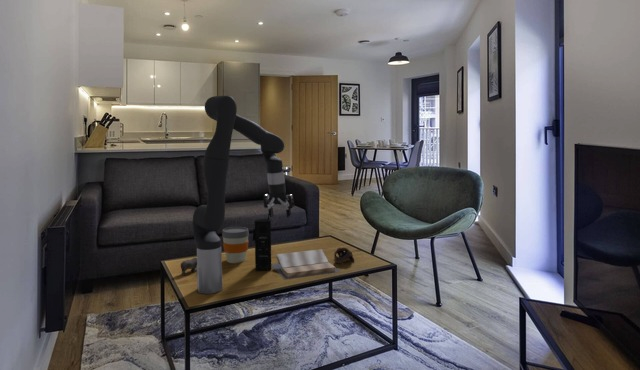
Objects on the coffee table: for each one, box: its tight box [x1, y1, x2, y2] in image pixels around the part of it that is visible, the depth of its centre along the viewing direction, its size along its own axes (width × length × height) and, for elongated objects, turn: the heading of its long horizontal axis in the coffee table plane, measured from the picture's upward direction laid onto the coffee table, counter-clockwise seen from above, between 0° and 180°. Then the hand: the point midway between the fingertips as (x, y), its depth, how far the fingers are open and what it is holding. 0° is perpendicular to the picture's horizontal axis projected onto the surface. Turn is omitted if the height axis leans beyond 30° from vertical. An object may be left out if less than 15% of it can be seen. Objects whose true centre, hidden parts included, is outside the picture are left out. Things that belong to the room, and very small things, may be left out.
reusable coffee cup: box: [221, 226, 250, 264], centre depth 205 cm, size 13×13×15 cm
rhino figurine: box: [180, 256, 197, 277], centre depth 190 cm, size 4×14×6 cm, turn 149°
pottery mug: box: [333, 246, 355, 265], centre depth 203 cm, size 12×10×8 cm
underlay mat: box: [271, 262, 342, 281], centre depth 194 cm, size 26×22×1 cm
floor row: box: [283, 262, 336, 277], centre depth 189 cm, size 22×7×2 cm, turn 112°
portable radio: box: [252, 213, 272, 272], centre depth 191 cm, size 8×6×25 cm
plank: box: [276, 248, 329, 271], centre depth 196 cm, size 22×9×2 cm
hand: (280, 216), depth 195 cm, fingers open, 8 cm apart
